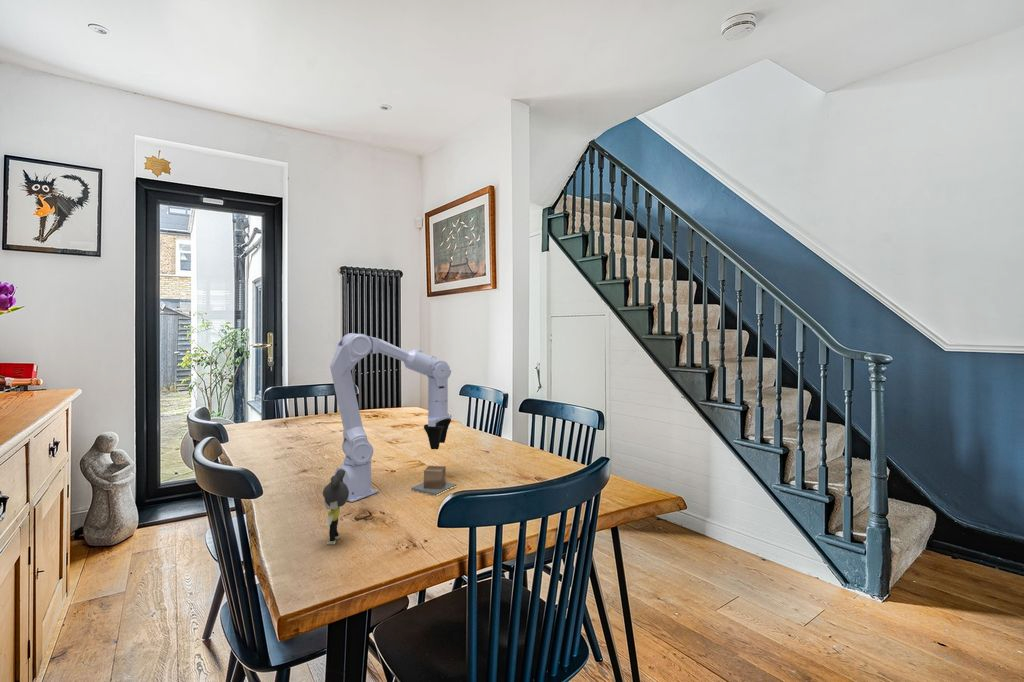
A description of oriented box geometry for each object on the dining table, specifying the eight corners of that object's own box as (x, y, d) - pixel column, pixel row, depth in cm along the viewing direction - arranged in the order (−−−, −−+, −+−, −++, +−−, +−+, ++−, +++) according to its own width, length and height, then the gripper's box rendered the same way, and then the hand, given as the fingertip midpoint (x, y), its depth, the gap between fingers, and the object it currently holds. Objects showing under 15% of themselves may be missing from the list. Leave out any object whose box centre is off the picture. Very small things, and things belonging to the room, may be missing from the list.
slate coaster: (436, 496, 136) (436, 493, 136) (411, 490, 141) (411, 487, 140) (456, 486, 144) (456, 484, 144) (432, 481, 148) (432, 479, 148)
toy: (329, 533, 112) (328, 467, 111) (354, 532, 112) (353, 466, 112) (317, 550, 103) (316, 479, 103) (344, 550, 104) (343, 478, 103)
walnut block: (441, 489, 139) (441, 471, 139) (423, 488, 140) (423, 470, 140) (445, 483, 144) (445, 466, 144) (428, 482, 145) (428, 465, 145)
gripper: (445, 404, 141) (445, 452, 142) (456, 397, 155) (456, 440, 156) (420, 404, 142) (421, 451, 142) (434, 396, 156) (434, 439, 157)
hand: (438, 445), depth 149 cm, fingers open, 7 cm apart
